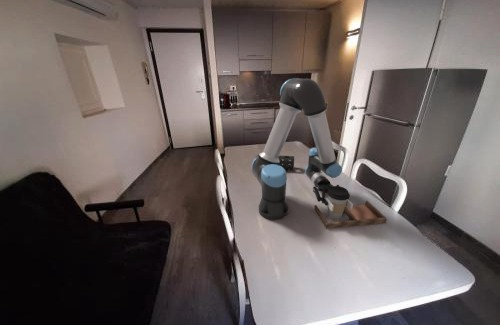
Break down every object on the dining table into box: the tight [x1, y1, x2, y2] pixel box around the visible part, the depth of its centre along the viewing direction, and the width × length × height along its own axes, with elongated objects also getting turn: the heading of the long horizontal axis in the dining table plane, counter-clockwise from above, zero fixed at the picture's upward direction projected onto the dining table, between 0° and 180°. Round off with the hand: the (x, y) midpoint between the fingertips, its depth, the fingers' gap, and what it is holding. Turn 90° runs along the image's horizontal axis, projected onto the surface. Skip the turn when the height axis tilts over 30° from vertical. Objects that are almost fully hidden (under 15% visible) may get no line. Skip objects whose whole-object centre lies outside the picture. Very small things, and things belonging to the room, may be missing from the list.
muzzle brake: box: [254, 153, 295, 170], centre depth 143 cm, size 10×28×10 cm, turn 79°
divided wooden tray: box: [313, 200, 388, 230], centre depth 95 cm, size 28×14×2 cm, turn 95°
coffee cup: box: [326, 185, 351, 222], centre depth 92 cm, size 9×9×15 cm
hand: (342, 207), depth 87 cm, fingers closed on coffee cup, 8 cm apart
